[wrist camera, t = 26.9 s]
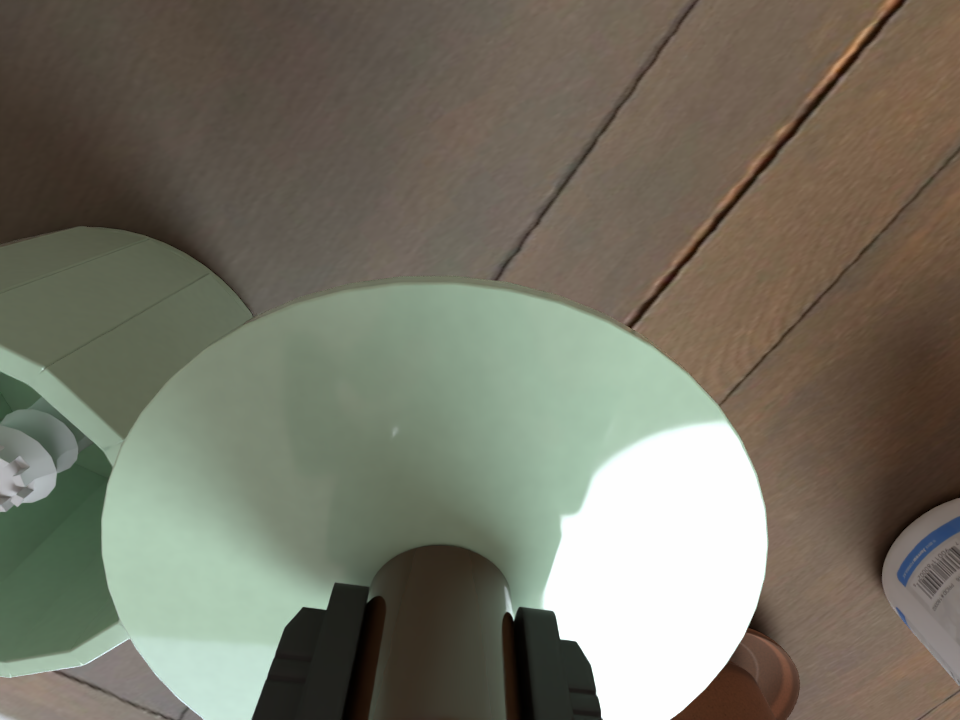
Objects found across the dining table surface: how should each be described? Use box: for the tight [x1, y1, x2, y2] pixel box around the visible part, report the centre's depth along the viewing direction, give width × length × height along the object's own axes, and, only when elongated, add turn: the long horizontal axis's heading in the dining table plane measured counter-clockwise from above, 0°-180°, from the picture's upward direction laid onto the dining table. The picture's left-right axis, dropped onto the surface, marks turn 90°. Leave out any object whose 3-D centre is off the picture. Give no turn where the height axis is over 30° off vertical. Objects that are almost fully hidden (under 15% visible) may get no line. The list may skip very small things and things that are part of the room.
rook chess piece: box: [0, 397, 94, 512], centre depth 22 cm, size 4×4×8 cm
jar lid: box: [101, 276, 768, 720], centre depth 10 cm, size 15×15×7 cm
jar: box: [0, 226, 253, 678], centre depth 21 cm, size 14×14×10 cm
